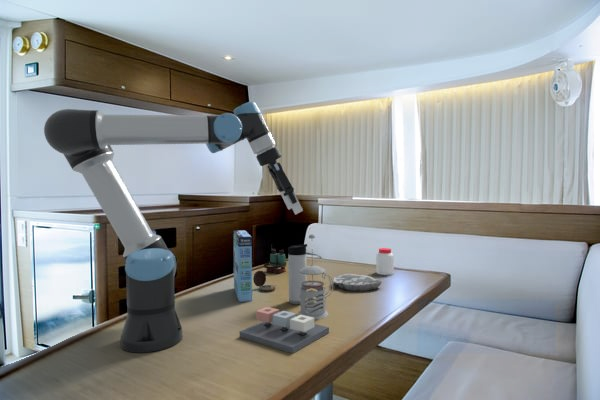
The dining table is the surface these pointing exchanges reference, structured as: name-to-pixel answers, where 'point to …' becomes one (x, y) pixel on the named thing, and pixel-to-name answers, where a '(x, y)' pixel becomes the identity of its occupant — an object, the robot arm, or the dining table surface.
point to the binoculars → (276, 262)
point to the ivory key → (302, 323)
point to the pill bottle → (385, 262)
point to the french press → (313, 292)
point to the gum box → (243, 265)
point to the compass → (262, 282)
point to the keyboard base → (283, 336)
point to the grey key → (283, 319)
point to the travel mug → (296, 271)
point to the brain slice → (356, 282)
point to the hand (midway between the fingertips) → (295, 210)
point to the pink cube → (266, 314)
